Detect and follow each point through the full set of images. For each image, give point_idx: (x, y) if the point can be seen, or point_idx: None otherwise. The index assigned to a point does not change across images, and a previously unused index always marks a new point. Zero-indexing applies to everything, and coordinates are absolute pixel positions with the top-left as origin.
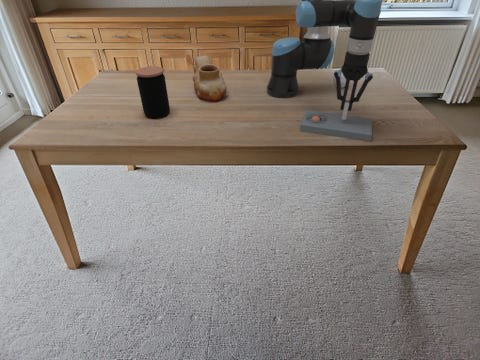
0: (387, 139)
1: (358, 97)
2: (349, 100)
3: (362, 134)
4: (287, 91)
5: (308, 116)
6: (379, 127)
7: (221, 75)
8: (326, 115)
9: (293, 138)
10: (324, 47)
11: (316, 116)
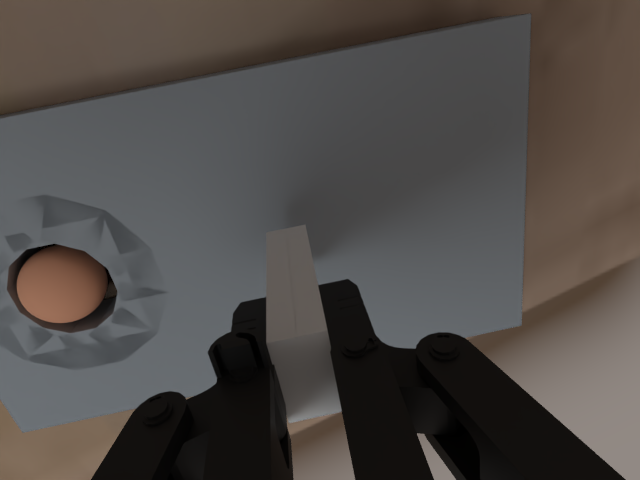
0: (607, 217)
1: (479, 465)
2: (324, 338)
3: (461, 334)
4: None
5: None
6: (571, 44)
7: None
8: (100, 183)
9: (76, 475)
10: None
11: (47, 301)
